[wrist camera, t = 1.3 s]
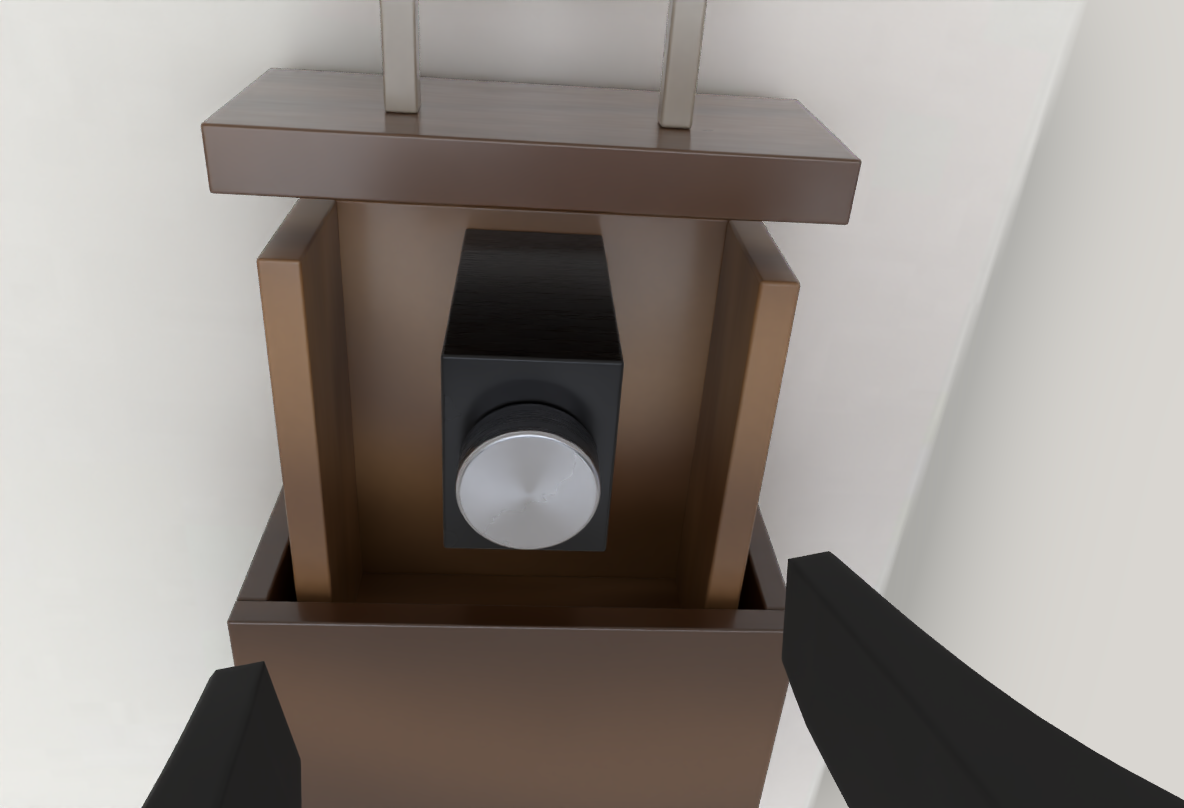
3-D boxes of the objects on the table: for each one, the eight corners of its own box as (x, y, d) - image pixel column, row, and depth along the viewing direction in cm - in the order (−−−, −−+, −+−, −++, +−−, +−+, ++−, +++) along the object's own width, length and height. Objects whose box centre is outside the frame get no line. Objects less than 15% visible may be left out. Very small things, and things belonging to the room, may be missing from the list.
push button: (602, 234, 21) (630, 392, 15) (590, 392, 23) (609, 589, 17) (465, 228, 20) (434, 385, 14) (464, 388, 22) (437, 586, 16)
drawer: (245, -170, 17) (157, -177, 13) (837, -123, 18) (922, -116, 14) (319, 567, 26) (279, 698, 22) (715, 575, 27) (746, 702, 23)
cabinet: (294, 454, 25) (225, 622, 20) (746, 467, 26) (802, 631, 21) (331, 801, 32) (289, 995, 27) (685, 802, 33) (714, 989, 28)
